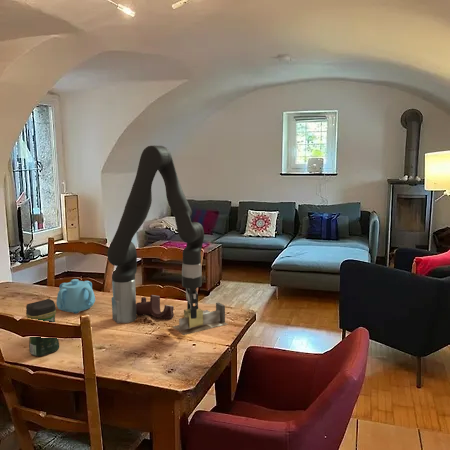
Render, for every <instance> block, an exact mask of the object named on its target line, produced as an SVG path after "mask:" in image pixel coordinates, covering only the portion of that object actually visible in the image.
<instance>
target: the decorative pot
mask: <svg viewBox="0 0 450 450" xmlns="http://www.w3.org/2000/svg"><path fill="white" fill-rule="evenodd" d="M95 303H96V296H95V292H94V290H93V283H92V281H89V280H84V281H83V280H79V279H78V278H74V279H71V280H70V281H69V282H62V283H60V284H59V290H58V292H57V296H56V303H55V305H56V308H57V309H58V310H60V311H63V312H67V313H73V314H80V312H81V311H85V310H89V309H91V307H93V305H94V304H95Z"/></svg>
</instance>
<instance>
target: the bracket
mask: <svg viewBox="0 0 450 450" xmlns="http://www.w3.org/2000/svg"><path fill="white" fill-rule="evenodd" d="M174 307H175V306H174V305H168V304H164V308H163V310H161V297H160V295H154V294H151V295H150V301H147V298H146V297H145V296H144V297H143V296H142V297H141V299H140V302H136V313H137V316H148V315H149V316H150V315H152V316H153V317H154V318H158V319H163V320H164V319H167V320H168V319H173V318H174V317H175V316H174V315H175V314H174V309H175V308H174Z"/></svg>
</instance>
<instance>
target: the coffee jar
mask: <svg viewBox="0 0 450 450" xmlns="http://www.w3.org/2000/svg"><path fill="white" fill-rule="evenodd" d="M25 308H26V309H25V311H26V312H25V315H26V318H27V319H28V318H31V319H38V320H43V321H49V322H55V323H56V314H57V306H56V303H55V301H54V300H52V299H50V298H46V299H43V300H42V299H41V300H39V301H35V302H30V303H27V304H26V307H25ZM28 337H29V336H28ZM28 339H29V340H28V341H29V342H28V346H29V349H28V352H29V353H30V355H32V356H33V357H42V356H47V355H49V354H52V353H54V352H57V351H58V350H59V349H60V342H59V338H58V339H57V338H41V337H29V338H28Z"/></svg>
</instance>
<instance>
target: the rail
mask: <svg viewBox="0 0 450 450" xmlns="http://www.w3.org/2000/svg"><path fill="white" fill-rule="evenodd" d="M178 320H179V321H178V322H179V323H178V325H173V326H172V328H173V329H174V330H176V331H177V332H178V333H180V334H182V335H183V336H187V335H191V334H194V333H198V332H199V333H200V332H203V331H206V330H207V331H208V330H211V329H215V328H218V327H219V328H220V327H223V326H227V325H229V324H228V323H227V322H226V306H225V305H224V304H222V303H220V302H218V301H217V302H216V303H215V310H212V311H210V312H207V313H203V325H200V326H196V327H191V328H189V327H188V318H187V317H184V316H183V317H180V318H178Z"/></svg>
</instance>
